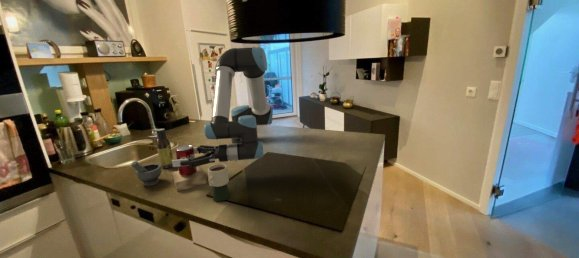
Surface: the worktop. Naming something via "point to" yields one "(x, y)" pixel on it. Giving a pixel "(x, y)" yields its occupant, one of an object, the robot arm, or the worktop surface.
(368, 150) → the worktop surface
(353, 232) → the worktop surface
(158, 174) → the mortar and pestle
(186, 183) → the oak block
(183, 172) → the soda can
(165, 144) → the sauce bottle
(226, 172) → the character mug
